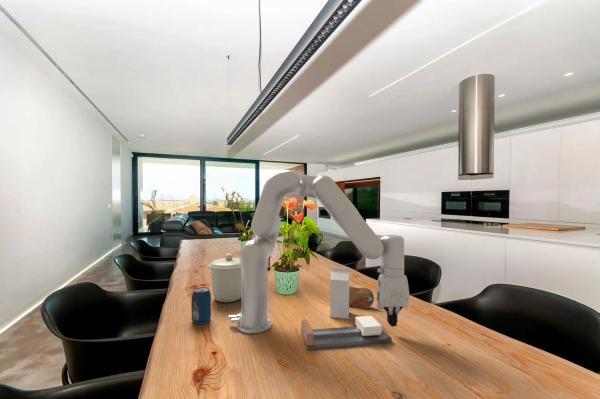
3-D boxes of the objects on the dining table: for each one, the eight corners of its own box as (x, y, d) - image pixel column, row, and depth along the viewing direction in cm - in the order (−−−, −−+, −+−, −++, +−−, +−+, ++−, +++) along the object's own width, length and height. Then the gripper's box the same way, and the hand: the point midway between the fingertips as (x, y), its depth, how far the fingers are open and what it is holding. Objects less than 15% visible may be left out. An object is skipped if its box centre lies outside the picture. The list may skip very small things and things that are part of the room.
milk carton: (348, 319, 108) (348, 270, 108) (330, 317, 109) (330, 269, 109) (348, 312, 115) (349, 266, 115) (331, 310, 116) (331, 265, 116)
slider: (364, 338, 90) (364, 327, 90) (355, 326, 98) (355, 316, 98) (381, 336, 91) (381, 325, 91) (371, 325, 98) (371, 315, 98)
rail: (306, 350, 86) (306, 333, 86) (301, 334, 96) (301, 319, 96) (391, 343, 90) (391, 327, 90) (378, 328, 100) (378, 315, 100)
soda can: (211, 316, 110) (211, 286, 110) (210, 324, 103) (210, 291, 103) (192, 318, 108) (193, 287, 108) (190, 326, 101) (190, 293, 101)
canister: (244, 290, 141) (245, 249, 141) (251, 303, 124) (251, 255, 124) (207, 294, 135) (207, 251, 135) (209, 308, 118) (209, 258, 118)
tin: (338, 304, 123) (338, 285, 123) (340, 302, 126) (340, 283, 126) (373, 309, 117) (373, 290, 117) (374, 307, 120) (374, 287, 120)
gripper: (376, 275, 91) (376, 331, 91) (418, 273, 93) (418, 328, 93) (367, 269, 98) (367, 321, 98) (406, 268, 100) (406, 318, 100)
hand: (392, 324), depth 95 cm, fingers closed
